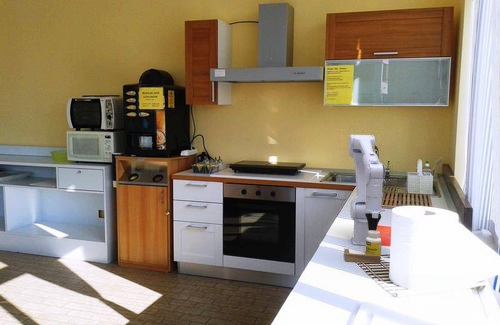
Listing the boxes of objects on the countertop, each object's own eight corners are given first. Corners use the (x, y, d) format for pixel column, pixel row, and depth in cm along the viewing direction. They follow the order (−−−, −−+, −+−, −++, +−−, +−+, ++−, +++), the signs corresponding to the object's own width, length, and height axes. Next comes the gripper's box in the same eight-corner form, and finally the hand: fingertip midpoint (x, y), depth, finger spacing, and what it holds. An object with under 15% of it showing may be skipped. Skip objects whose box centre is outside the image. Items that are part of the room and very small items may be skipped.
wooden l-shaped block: (344, 255, 176) (344, 248, 176) (378, 257, 174) (378, 250, 174) (345, 261, 169) (345, 254, 169) (380, 263, 167) (380, 256, 167)
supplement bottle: (362, 258, 173) (363, 231, 172) (368, 255, 177) (370, 228, 176) (376, 261, 169) (378, 234, 168) (383, 258, 174) (384, 231, 172)
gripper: (387, 200, 168) (386, 239, 170) (382, 193, 183) (381, 229, 184) (367, 199, 169) (365, 237, 171) (363, 193, 184) (362, 228, 185)
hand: (372, 233), depth 178 cm, fingers closed
